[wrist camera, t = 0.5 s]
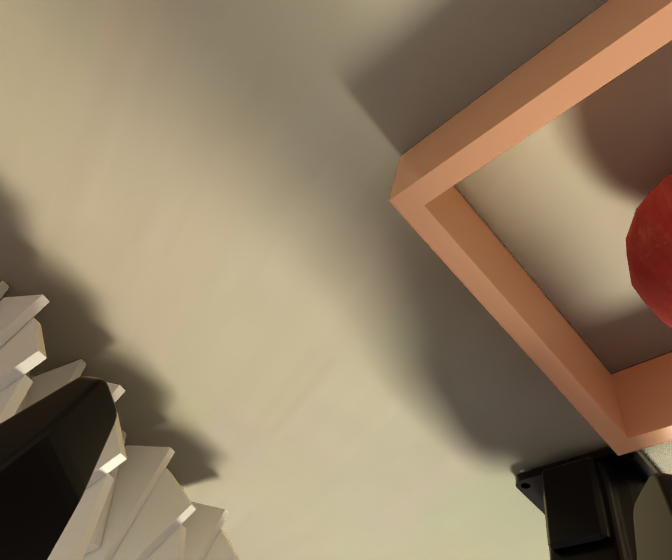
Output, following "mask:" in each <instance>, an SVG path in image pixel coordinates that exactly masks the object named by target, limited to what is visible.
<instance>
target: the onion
mask: <svg viewBox="0 0 672 560" xmlns="http://www.w3.org/2000/svg"><path fill="white" fill-rule="evenodd" d="M626 250H627V259H628V265H629V271H630V277H631V283H632V286H633V287H634V289H635V290H636V291H637V293H638V294H639V296H640V297H641V298H642V300H643V301H644V302H645V303H646V304H647V305H648V306H649V308H650V309H651V310H652V311H653V312H654V313H655V314H656V316H657V317H658V318H659V319H660V320H661V321H662V322H663V323H665V324H666V325H668V326H669V327H671V328H672V173H671V174H670V175H668V176H666V177H665V178H664V179H663V180H661V182H660V183H659V184H658V185H657V186H656V187H655V188H654V189H653V190H652V192H651V193H650V194H649V195H648V196H647V197H646V198H645V199H644V200H643V202H642V203H641V204H640V205H639V206H638V208H637V209H636V212H635V215H634V217H633V220H632V223H631V226H630V229H629V232H628V234H627V237H626Z"/></svg>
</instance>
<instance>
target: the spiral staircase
mask: <svg viewBox="0 0 672 560" xmlns="http://www.w3.org/2000/svg"><path fill="white" fill-rule="evenodd" d="M8 289H9V286H8V285H7V284H6V283H5V282H4V281H1V282H0V299H1V297H2V296H3V295H4V294H5V292H6V291H7V290H8ZM49 302H50V301H49V300H48V299H47V298H46V297H45V296H44V295H43V294H41V295H28V296H16V297H4V298H3V299H2V300H1V301H0V423H2V422H4V421H5V420H7V419H9V418H10V417H12V416H14V415H16V414H17V413H19V412H21V411H22V410H24V409H26V408H27V407H29V406H31V405H32V404H34V403H36V402H37V401H39V400H41V399H43V398H44V397H46V396H48V395H49V394H51V393H53V392H54V391H56V390H58V389H59V388H61V387H63V386H65V385H66V384H68V383H70V382H71V381H73V380H75V379H76V378H78V377H80V376H81V374H82V372H83V370H84V368H85V367H86V363H85V362H84V361H83V360H82V359H80V360H77V361H75V362H72V363H69V364H67V365H64V366H61V367H59V368H56V369H53V370H51V371H48V372H45V373H43V374H40V375H38V376H35V377H32V378H29V376H30V372H29V371H30V370H31V369H33V368H34V367H35V366H37V365H38V364H40V363H41V362H42V361H44V360H45V359H47V357H46V351H45V345H44V339H43V334H42V328H41V324H40V323H39V322H38V321H37V320H36V319H35V318H33V317H34V316H35V315H36V314H37V313H38V312H39V311H40V310H41V309H42V308H43V307H45V306H46V305H47V304H48V303H49ZM107 384H108V386H109V389H110V392H111V394H112V397H113V400H114V403H115V402H116V401H117V400H118V399H119V397H120V396H121V395H122V394H123V393H124V392H125V390H124V389H123V388H122V387H121V386H120V385H118V384H114V383H109V382H107ZM126 435H127V434H126V433H125V432H124V431H123V430H121V427H120V422H119V417H118V412H117V417H116V421H115V424H114V426H113V428H112V431H111V433H110V435H109V438H108V440H107V442H106V444H105V447H104V449H103V451H102V453H101V456H100V458H99V460H98V462H97V465H96V467H95V469H94V472H93V474H92V476H91V478H90V481H89V483H88V485H87V487H86V490H85V492H84V494H83V496H82V498H81V500H80V502H79V504H78V506H77V508H76V509H75V511H74V513H73V515H72V517H71V518H70V520H69V522H68V524H67V526H66V527H65V529H64V531H63V533H62V534H61V536H60V538H59V540H58V541H57V543H56V545H55V547H54V549H53V550H52V552H51V554H50V556H49V557H48V559H47V560H240V559H239V558H238V556H237V554H236V552H235V550H234V548H233V547H232V545H231V543H230V541H229V539H228V538H227V536H226V534H225V532H223V531H222V530H221V527H222V525H223V523H224V522H225V520H226V518H227V516H228V514H229V513H228V512H227V511H226V510H225V509H221V508H217V507H212V506H208V505H204V504H200V503H195V502H191V501H190V500H189V498H188V497H187V495H186V494H185V492H184V491H183V487H182V486H181V485H180V484H179V483H178V482H177V481H176V479H175V478H174V476H173V475H172V473H171V472H170V471H169V470H168V469H167V468H166V466H167V465H168V463H169V461H170V460H171V458H172V456H173V455H174V453H175V451H174V450H173V449H172V448H171V447H154V446H133V445H126V447H124V444H125V440H126Z"/></svg>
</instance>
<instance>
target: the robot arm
mask: <svg viewBox="0 0 672 560" xmlns="http://www.w3.org/2000/svg"><path fill="white" fill-rule="evenodd" d="M116 417H117V408H116V405H115V403H114V400H113V397H112V394H111V392H110V389H109V386H108V384H107V382H106V381H105V380H104V379H102V378H97V377H91V376H81V377H78V378H76V379H75V380H73V381H71V382H70V383H68V384H66V385H65V386H63V387H61V388H59V389H58V390H56V391H54V392H53V393H51V394H49V395H48V396H46V397H44V398H43V399H41V400H39V401H37V402H36V403H34V404H32V405H31V406H29V407H27V408H26V409H24V410H22V411H21V412H19V413H17V414H16V415H14V416H12V417H10V418H9V419H7V420H5V421H4V422H2V423H0V560H47V559H48V557H49V556H50V554H51V552H52V550H53V549H54V547H55V545H56V543H57V541H58V540H59V538H60V536H61V534H62V533H63V531H64V529H65V527H66V526H67V524H68V522H69V520H70V518H71V517H72V515H73V513H74V511H75V509H76V508H77V506H78V504H79V502H80V500H81V498H82V496H83V494H84V492H85V490H86V487H87V485H88V483H89V481H90V478H91V476H92V474H93V472H94V469H95V467H96V465H97V462H98V460H99V458H100V456H101V453H102V451H103V449H104V447H105V444H106V442H107V440H108V438H109V435H110V433H111V431H112V428H113V426H114V424H115V421H116ZM516 487H517V488H518V489H519V490H520V491H521V492H522V493H523V494H524V495H525V496H526V497H527V498H528V499H529V500H530V501H531V502H532V503H533V504H534V505H536V506H537V507H538V508H539V509H540V510H541V511H542V512H543V513H544V514H545V518H546V528H547V538H548V545H549V551H550V560H672V475H671V474H665V473H659V472H658V471H657V470H656V469H655V467H654V466H653V465H652V464H651V463H650V462H649V460H648V459H647V458H646V457H645V456H644V455H643V454H642V452H641V451H640V450H637V451H633V452H630V453H626V454H623V455H619V456H618V455H617V454H616V453H615V452H614V451H613V450H612V448H611V447H609V448H606V449H602V450H599V451H596V452H592V453H589V454H586V455H582V456H579V457H576V458H572V459H569V460H566V461H562V462H559V463H556V464H552V465H549V466H546V467H542V468H539V469H536V470H532V471H529V472H526V473H522V474H519V475H517V476H516Z"/></svg>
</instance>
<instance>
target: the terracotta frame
mask: <svg viewBox="0 0 672 560" xmlns="http://www.w3.org/2000/svg"><path fill="white" fill-rule="evenodd" d="M671 40H672V0H608V1H607V2H606V3H604V4H603V5H602V6H600V7H599V8H598V9H596V10H595V11H594V12H592V13H591V14H590V15H588V16H587V17H586V18H584V19H583V20H582V21H580V22H579V23H578V24H576V25H575V26H574V27H572V28H571V29H570V30H568V31H567V32H566V33H564V34H563V35H562V36H560V37H559V38H558V39H556V40H555V41H554V42H552V43H551V44H550V45H548V46H547V47H546V48H544V49H543V50H542V51H540V52H539V53H538V54H536V55H535V56H534V57H532V58H531V59H530V60H528V61H527V62H526V63H524V64H523V65H522V66H520V67H519V68H518V69H516V70H515V71H514V72H512V73H511V74H510V75H508V76H507V77H506V78H504V79H503V80H502V81H500V82H499V83H498V84H496V85H495V86H494V87H492V88H491V89H490V90H488V91H487V92H486V93H484V94H483V95H482V96H480V97H479V98H478V99H476V100H475V101H474V102H472V103H471V104H470V105H468V106H467V107H466V108H464V109H463V110H462V111H460V112H459V113H458V114H456V115H455V116H454V117H452V118H451V119H450V120H448V121H447V122H446V123H444V124H443V125H442V126H440V127H439V128H438V129H436V130H435V131H434V132H432V133H431V134H430V135H428V136H427V137H426V138H424V139H423V140H422V141H420V142H419V143H418V144H416V145H415V146H414V147H412V148H411V149H410V150H408V151H407V152H406V153H404V154H403V155H402V156H401V158H400V161H399V165H398V168H397V172H396V176H395V179H394V183H393V187H392V190H391V194H390V198H389V202H390V203H391V204H392V205H393V206H394V207H395V209H396V210H397V211H398V212H399V213H400V214H401V215H402V216H403V217H404V219H405V220H406V221H407V222H408V223H409V224H410V225H411V226H412V227H413V229H414V230H415V231H416V232H417V233H418V234H419V235H420V236H421V237H422V239H423V240H424V241H425V242H426V243H427V244H428V245H429V246H430V247H431V248H432V250H433V251H434V252H435V253H436V254H437V255H438V256H439V257H440V258H441V260H442V261H443V262H444V263H445V264H446V265H447V266H448V267H449V268H450V270H451V271H452V272H453V273H454V274H455V275H456V276H457V277H458V278H459V280H460V281H461V282H462V283H463V284H464V285H465V286H466V287H467V288H468V290H469V291H470V292H471V293H472V294H473V295H474V296H475V297H476V298H477V300H478V301H479V302H480V303H481V304H482V305H483V306H484V307H485V308H486V310H487V311H488V312H489V313H490V314H491V315H492V316H493V317H494V318H495V320H496V321H497V322H498V323H499V324H500V325H501V326H502V327H503V328H504V330H505V331H506V332H507V333H508V334H509V335H510V336H511V337H512V338H513V340H514V341H515V342H516V343H517V344H518V345H519V346H520V347H521V348H522V350H523V351H524V352H525V353H526V354H527V355H528V356H529V357H530V358H531V360H532V361H533V362H534V363H535V364H536V365H537V366H538V367H539V368H540V370H541V371H542V372H543V373H544V374H545V375H546V376H547V377H548V378H549V380H550V381H551V382H552V383H553V384H554V385H555V386H556V387H557V388H558V390H559V391H560V392H561V393H562V394H563V395H564V396H565V397H566V398H567V400H568V401H569V402H570V403H571V404H572V405H573V406H574V407H575V408H576V410H577V411H578V412H579V413H580V414H581V415H582V416H583V417H584V418H585V420H586V421H587V422H588V423H589V424H590V425H591V426H592V427H593V428H594V430H595V431H596V432H597V433H598V434H599V435H600V436H601V437H602V438H603V440H604V441H605V442H606V443H607V444H608V445H609V446H610V447H611V448H612V450H613V451H614V452H615V453H616V454H617V455H618V456H619V455H623V454H626V453H630V452H633V451H637V450H640V449H644V448H647V447H651V446H654V445H658V444H661V443H664V442H668V441H671V440H672V352H670V353H667V354H665V355H662V356H659V357H657V358H654V359H651V360H649V361H646V362H643V363H641V364H638V365H635V366H633V367H630V368H627V369H625V370H622V371H619V372H616V373H614V374H610V372H609V371H608V370H607V369H606V368H605V367H604V365H603V364H602V363H601V362H600V361H599V359H598V358H597V357H596V356H595V355H594V353H593V352H592V351H591V350H590V349H589V347H588V346H587V345H586V344H585V343H584V341H583V340H582V339H581V338H580V337H579V335H578V334H577V333H576V332H575V331H574V329H573V328H572V327H571V326H570V325H569V323H568V322H567V321H566V320H565V319H564V317H563V316H562V315H561V314H560V313H559V311H558V310H557V309H556V308H555V307H554V305H553V304H552V303H551V302H550V301H549V299H548V298H547V297H546V296H545V295H544V293H543V292H542V291H541V290H540V289H539V287H538V286H537V285H536V284H535V283H534V281H533V280H532V279H531V278H530V277H529V275H528V274H527V273H526V272H525V271H524V269H523V268H522V267H521V266H520V265H519V264H518V262H517V261H516V260H515V259H514V258H513V256H512V255H511V254H510V253H509V252H508V250H507V249H506V248H505V247H504V246H503V244H502V243H501V242H500V241H499V240H498V238H497V237H496V236H495V235H494V234H493V232H492V231H491V230H490V229H489V228H488V226H487V225H486V224H485V223H484V222H483V220H482V219H481V218H480V217H479V216H478V214H477V213H476V212H475V211H474V210H473V208H472V207H471V206H470V205H469V204H468V202H467V201H466V200H465V199H464V198H463V196H462V195H461V194H460V193H459V192H458V190H457V189H456V188H455V187H454V185H455V184H457V183H458V182H460V181H461V180H463V179H464V178H466V177H467V176H469V175H470V174H472V173H473V172H475V171H476V170H478V169H479V168H481V167H482V166H484V165H485V164H487V163H488V162H490V161H491V160H493V159H494V158H496V157H497V156H499V155H500V154H502V153H503V152H505V151H506V150H508V149H509V148H511V147H512V146H514V145H515V144H517V143H518V142H520V141H521V140H523V139H524V138H526V137H527V136H529V135H530V134H532V133H533V132H535V131H536V130H538V129H539V128H541V127H542V126H544V125H545V124H547V123H548V122H550V121H551V120H553V119H554V118H556V117H557V116H559V115H560V114H562V113H563V112H565V111H566V110H568V109H569V108H571V107H572V106H574V105H575V104H577V103H578V102H580V101H581V100H583V99H584V98H586V97H587V96H589V95H590V94H592V93H593V92H595V91H596V90H598V89H599V88H601V87H602V86H604V85H605V84H607V83H608V82H610V81H611V80H613V79H614V78H616V77H617V76H619V75H620V74H622V73H623V72H625V71H626V70H628V69H629V68H631V67H632V66H634V65H635V64H637V63H638V62H640V61H641V60H643V59H644V58H646V57H647V56H649V55H650V54H652V53H653V52H655V51H656V50H658V49H659V48H661V47H662V46H664V45H665V44H667V43H668V42H670V41H671Z"/></svg>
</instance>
